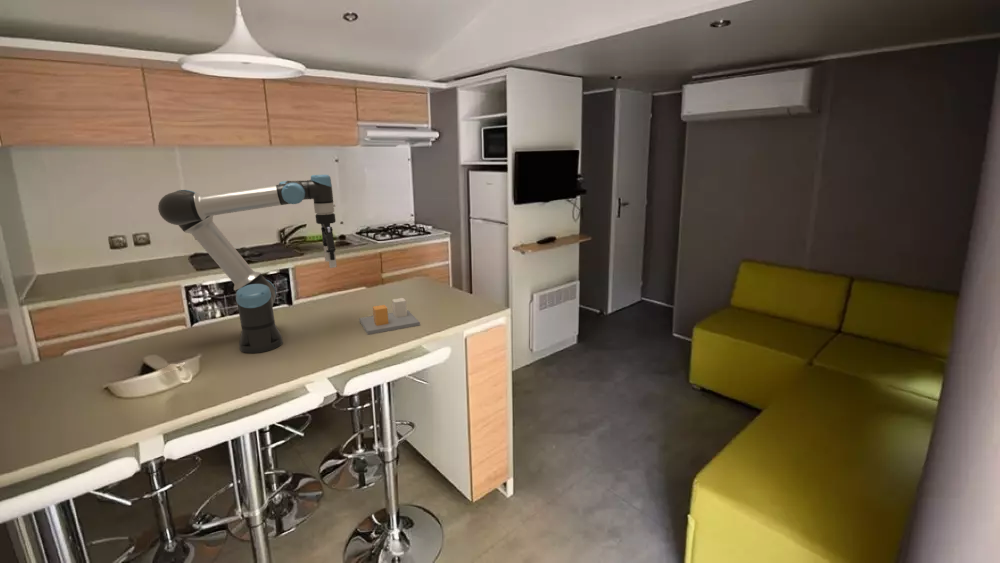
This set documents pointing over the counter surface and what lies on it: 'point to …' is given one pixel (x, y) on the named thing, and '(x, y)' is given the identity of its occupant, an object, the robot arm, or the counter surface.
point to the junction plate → (391, 319)
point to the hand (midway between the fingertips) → (330, 264)
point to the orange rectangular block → (380, 315)
